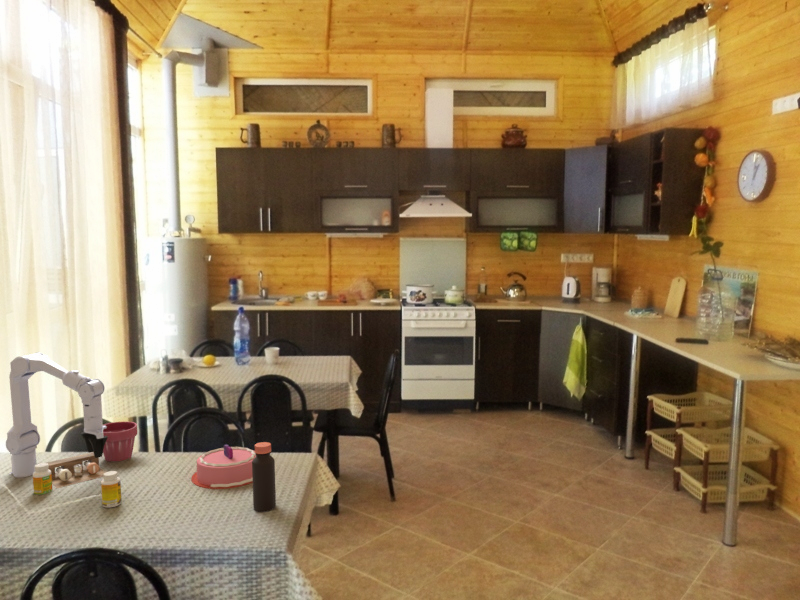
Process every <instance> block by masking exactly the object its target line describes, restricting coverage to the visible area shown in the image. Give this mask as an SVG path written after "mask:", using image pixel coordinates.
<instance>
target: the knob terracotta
mask: <svg viewBox="0 0 800 600" xmlns="http://www.w3.org/2000/svg"><path fill="white" fill-rule="evenodd" d="M83 466H86V467H87V471H88V472H89V473H90V474H96V473H97V472H98V471H99V467H100V464H99V465H98V464H96V463H90V462H89V461H88V460H86V461H83Z"/></svg>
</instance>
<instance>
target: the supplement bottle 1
mask: <svg viewBox="0 0 800 600" xmlns="http://www.w3.org/2000/svg"><path fill="white" fill-rule="evenodd" d="M48 468H49V466H48V463H47V462H41V463H37V465H35V472H34V473H33V475H32V486H33V487H32V488H33V494H34V495H46V494H49V493H51V492H52V491H53V484H52V473H51V470H49V469H48Z"/></svg>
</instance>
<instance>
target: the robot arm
mask: <svg viewBox="0 0 800 600" xmlns="http://www.w3.org/2000/svg"><path fill="white" fill-rule="evenodd" d="M9 365H10V372H9V387H10V399H11V400H10V401H11V411H12V412H11V413H12V426H11V427H10V429H9V430H8V432H7V433H6V435H7V438H6V441H5V448H6V450H7V452H8V453H10V455H11V456H10V459H11V460H10V461H11V472H9V473H8V475H13V477H14V478H25V477H29V476H33V473H34V472H35V465H37V464H38V463H37V450H36V449H37V448H38V445H39V444H40V442H41V435H40V432H39V431H38V426H37V425H36V424H35V423H32V413H31V401H30V389H29V386H30V385H29V379H31V377H33V375H35V374H36V373H38V372H44V373H47V374H49V375H51V376H52V377H54V378H57V379H60V380H61V381H62V384H63V385H64V386H65V387H67V388H69V389H70V390H73V391H75V392H77V393H78V396H79V398H80V399H81V403H82V410H83V411H82V412H83V413H82V414H83V427H84V428H83V432H81V433H80V435H81V436H82V438H83V440H84V443H85V444H86V449H87V452H88V453H92V452H94V456H95V458H98V457H99V458H103V456H104V454H103V449H104V445H105V442H106V440H107V438H108V437H107V436H103V430H104V429H106V428H107V426H103V425H104V424H103V423H104V422H103V406H102V402H103V401H102V395H103V394H104V392H105V390H106V389H105V385H104V383H103V381H102V380H101V379H99V378H94V379H92V378H91V377H90V376H86V375H84V374H82V373H80V370H77V369H76V370H74V369H72V370H71V369H70V370H67V369H66V368H64V367H63V366H61V365H60V364H58V363H56V362H55V361H53V360H52V359H50V357H49V355H47V354H44V353H43V352H40V351H38V352H34V353H30V354H26V355H25V354H24V355H21V356H16V357H14V358H13V360H11V361H10V363H9Z"/></svg>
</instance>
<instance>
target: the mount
mask: <svg viewBox="0 0 800 600" xmlns="http://www.w3.org/2000/svg"><path fill="white" fill-rule="evenodd" d="M85 461H89V462H90V463H96V464H98V465H99V471H98V472H97V473H96V474H90V473H89V472H88V471H87V467H86V466H85V465H84V462H85ZM46 463H48V466H49V468H48V469H49V470H51V473H52V486H54V488H56V489H59V488H63V487H64V488H65V487H67V486H71V485H76V484H80V483H85V482H87V481H92V480H96V479H99V478H103V474H104V473H106V472H107V471H105V470H104V469H103V468H101V467H100V457H98V458H95V456H94V452H88V453H84V454H78V455H76V456H75V455H74V456H70V457H65V458H61V459H57V460H53V461H48V462H46ZM78 464H81V465H82V473H83V476H82V477H81V478H74V465H78ZM58 467H61V468H62V469H68V470H69V471H70V472H71V473H72V476H71V478H70V479H69V480H67V481H63V480H61V479H60V478H59V473H58V472H57V471H56V469H57V468H58Z"/></svg>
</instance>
